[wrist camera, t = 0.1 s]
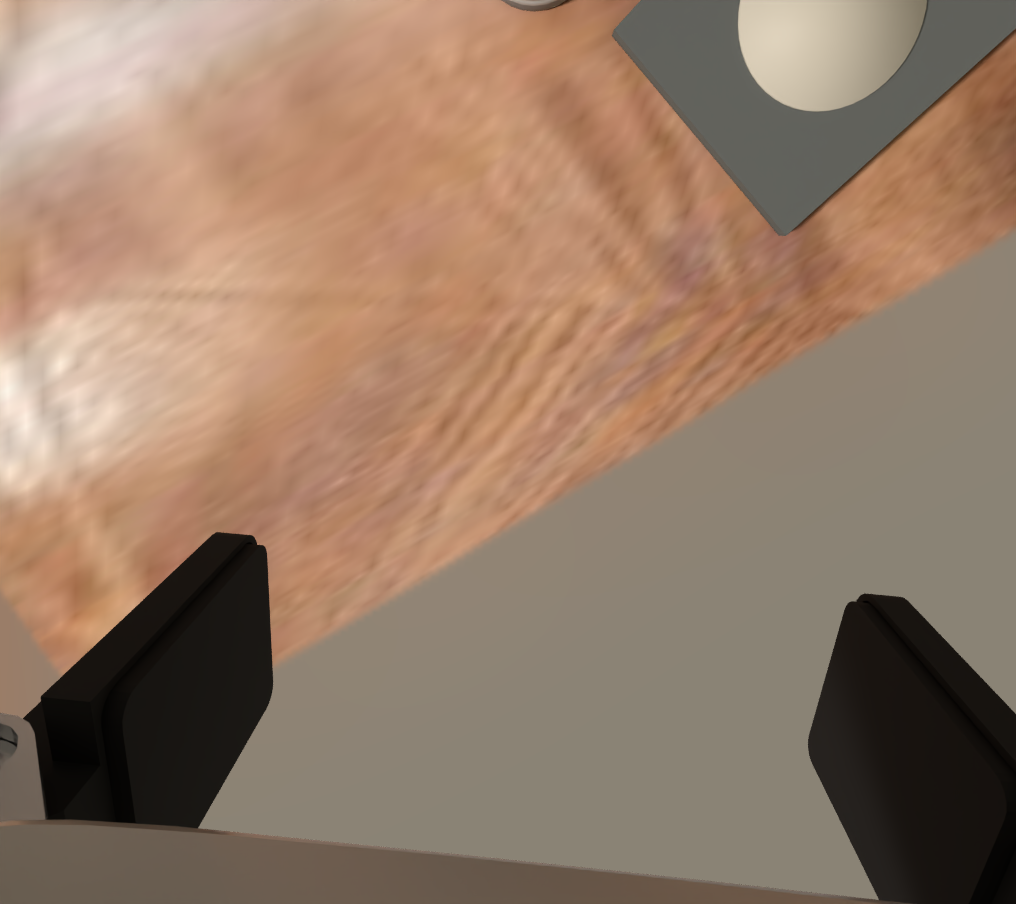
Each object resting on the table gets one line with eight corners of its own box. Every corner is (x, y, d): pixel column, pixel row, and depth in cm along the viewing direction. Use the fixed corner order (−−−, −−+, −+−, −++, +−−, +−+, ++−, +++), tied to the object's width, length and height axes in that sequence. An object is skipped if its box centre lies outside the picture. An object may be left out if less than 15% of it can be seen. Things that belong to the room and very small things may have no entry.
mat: (872, -250, 31) (887, -271, 29) (1039, -2, 33) (1059, -11, 32) (611, 35, 35) (614, 28, 34) (778, 235, 38) (787, 236, 36)
